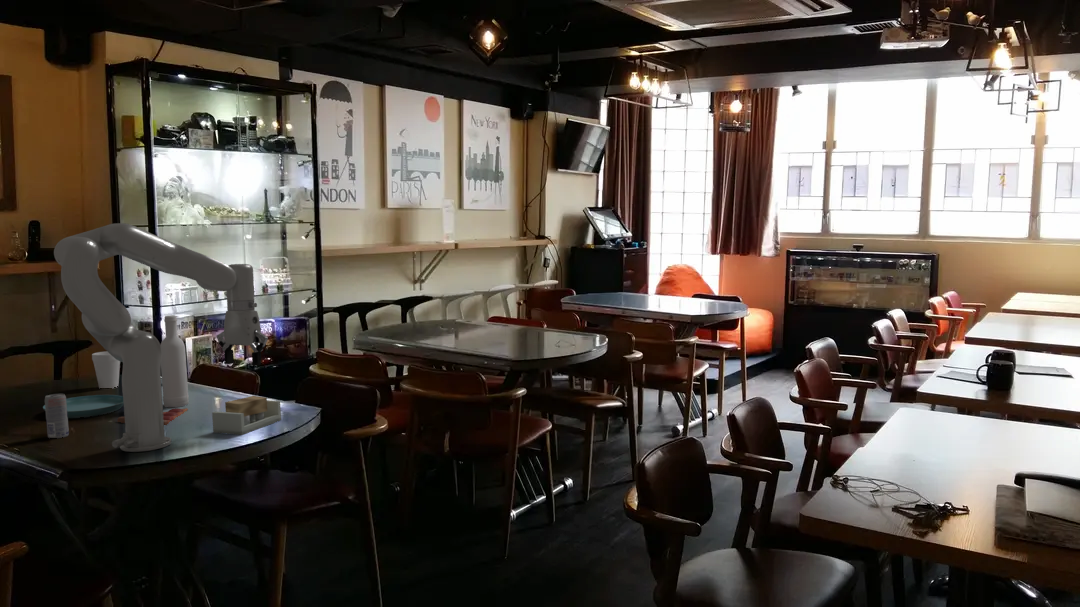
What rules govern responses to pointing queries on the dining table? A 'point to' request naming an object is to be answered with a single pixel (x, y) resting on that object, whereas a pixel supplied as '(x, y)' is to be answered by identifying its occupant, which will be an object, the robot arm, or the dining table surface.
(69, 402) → the saucer
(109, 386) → the foam cup
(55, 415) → the energy drink
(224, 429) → the peg frame
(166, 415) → the billiard ball rack
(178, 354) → the bottle
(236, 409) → the oak plank
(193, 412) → the dining table surface
